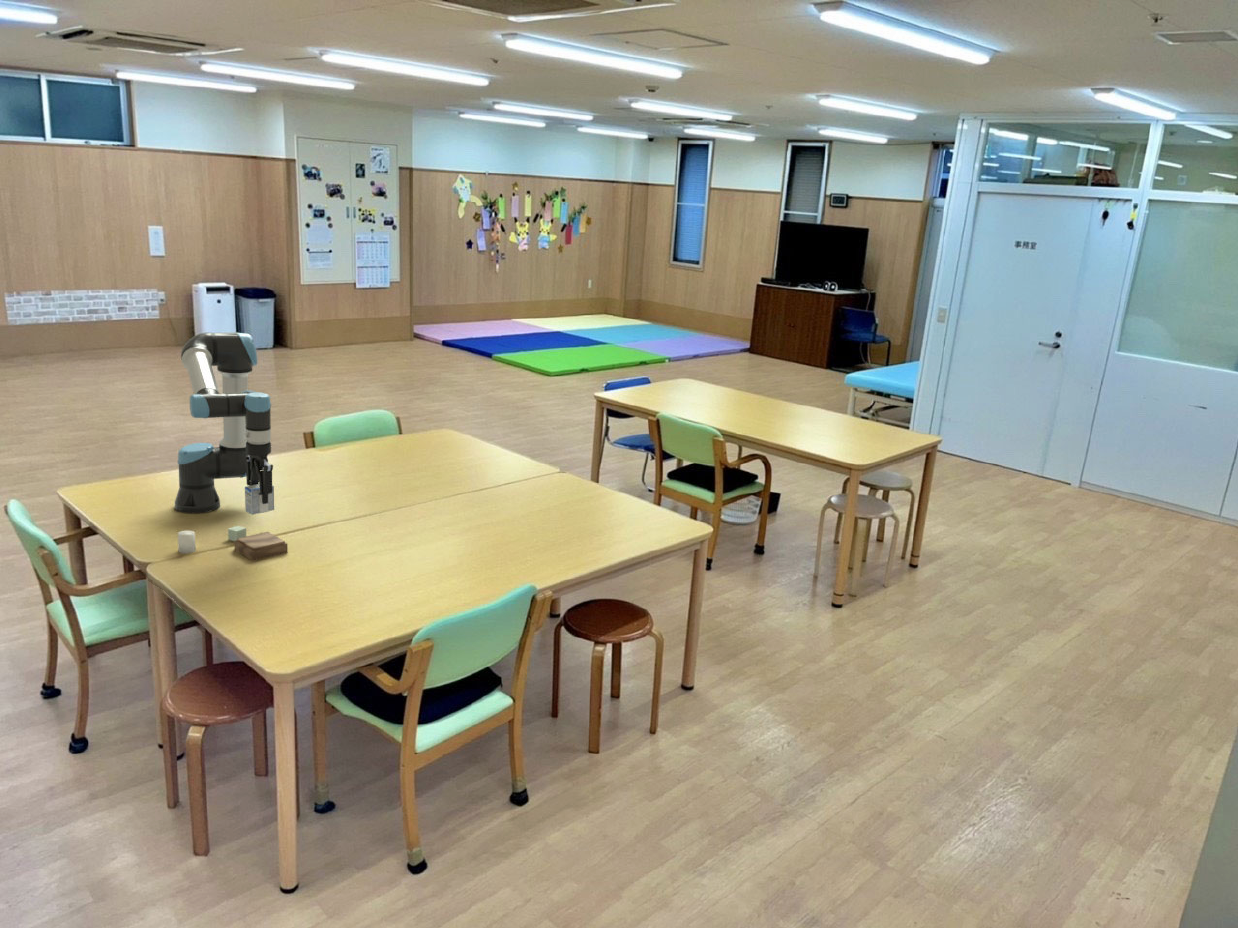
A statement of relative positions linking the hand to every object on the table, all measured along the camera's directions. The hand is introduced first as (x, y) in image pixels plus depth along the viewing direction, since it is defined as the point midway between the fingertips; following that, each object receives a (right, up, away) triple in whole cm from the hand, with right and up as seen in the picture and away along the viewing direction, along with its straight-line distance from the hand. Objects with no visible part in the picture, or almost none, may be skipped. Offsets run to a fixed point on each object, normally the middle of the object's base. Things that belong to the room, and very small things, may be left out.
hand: (259, 509), depth 296 cm
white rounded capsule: (-23, -13, -1) cm, 27 cm away
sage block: (-12, -11, +12) cm, 20 cm away
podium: (-1, -14, +4) cm, 14 cm away
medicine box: (0, -1, 0) cm, 1 cm away
